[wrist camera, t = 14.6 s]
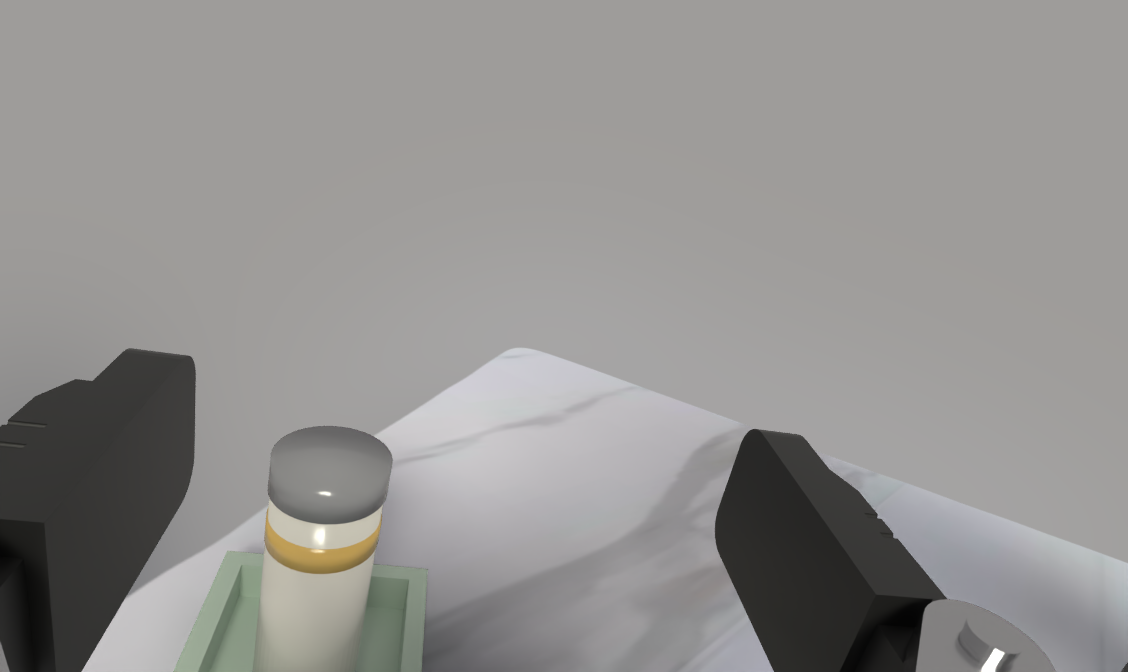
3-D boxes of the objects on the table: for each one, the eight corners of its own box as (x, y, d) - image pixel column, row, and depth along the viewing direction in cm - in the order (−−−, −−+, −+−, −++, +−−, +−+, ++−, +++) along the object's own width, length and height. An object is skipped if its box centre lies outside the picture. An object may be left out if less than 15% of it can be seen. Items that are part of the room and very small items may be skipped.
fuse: (358, 666, 37) (396, 433, 32) (344, 750, 33) (387, 496, 28) (260, 660, 36) (285, 419, 31) (233, 746, 32) (257, 482, 27)
